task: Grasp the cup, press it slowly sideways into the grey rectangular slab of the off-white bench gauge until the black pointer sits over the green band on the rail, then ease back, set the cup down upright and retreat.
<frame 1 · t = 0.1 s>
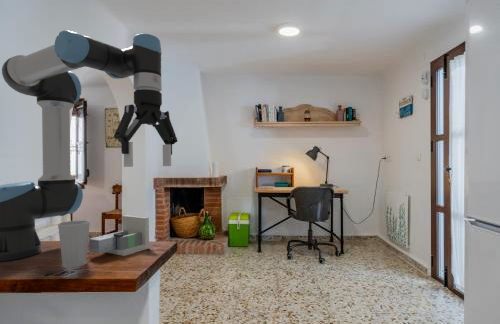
hand: (149, 166, 87), 28 cm above the table, fingers open, 13 cm apart
cup: (74, 264, 89), on the table
grey rectangular slab: (108, 242, 97), point 4 cm above the table, slide at 0.0 cm
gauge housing: (125, 249, 104), on the table
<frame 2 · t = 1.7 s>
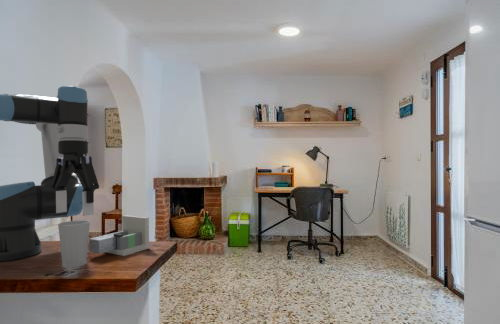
hand: (74, 213, 89), 15 cm above the table, fingers open, 13 cm apart
nothing on the table moved.
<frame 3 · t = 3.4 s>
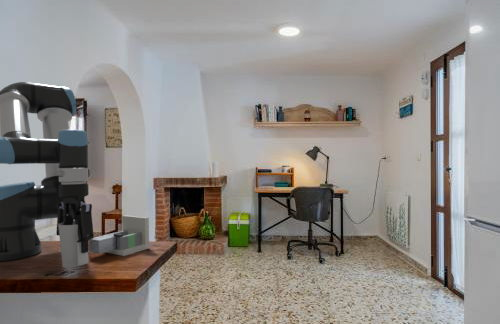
hand: (74, 261, 89), 1 cm above the table, fingers closed on cup, 7 cm apart
cup: (74, 264, 89), on the table, touching gripper
everything else where it was.
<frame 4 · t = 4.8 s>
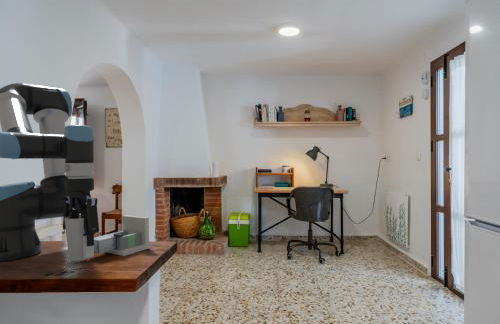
hand: (80, 255, 91), 2 cm above the table, fingers closed on cup, 7 cm apart
cup: (80, 258, 91), point 1 cm above the table, touching gripper
everything else where it was.
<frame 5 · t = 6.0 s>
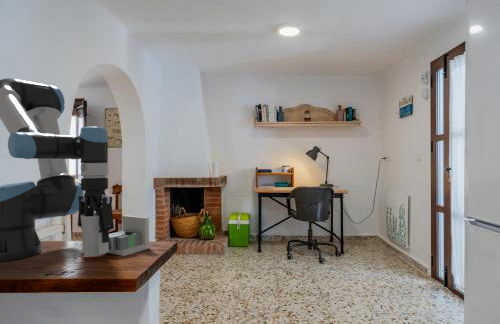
hand: (95, 251, 95), 2 cm above the table, fingers closed on cup, 7 cm apart
cup: (95, 254, 95), point 1 cm above the table, touching gripper, grey rectangular slab
grey rectangular slab: (119, 239, 101), point 4 cm above the table, slide at 4.2 cm, touching cup
when the fingers open (2 cm above the table, at t = 7.7 s): cup stays where it is, on the table.
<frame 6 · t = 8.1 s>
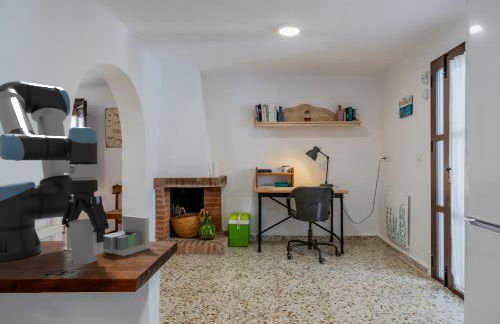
hand: (84, 250, 92), 3 cm above the table, fingers open, 13 cm apart
cup: (84, 261, 92), on the table
grey rectangular slab: (119, 239, 101), point 4 cm above the table, slide at 4.2 cm
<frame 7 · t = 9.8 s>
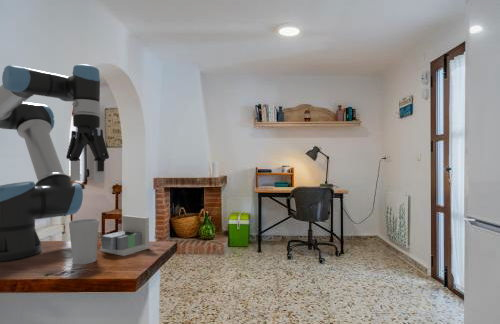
hand: (86, 181, 98), 23 cm above the table, fingers open, 13 cm apart
nothing on the table moved.
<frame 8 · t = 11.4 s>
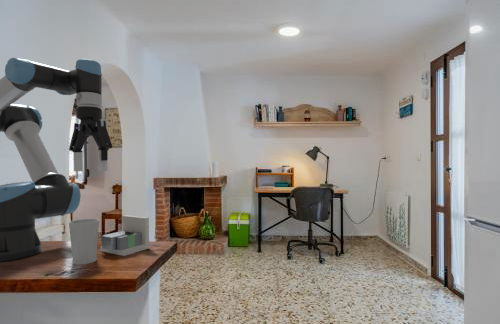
hand: (90, 171, 102), 27 cm above the table, fingers open, 13 cm apart
nothing on the table moved.
at the end: grey rectangular slab slide at 4.2 cm; cup tilted 0°; the gripper is holding nothing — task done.
